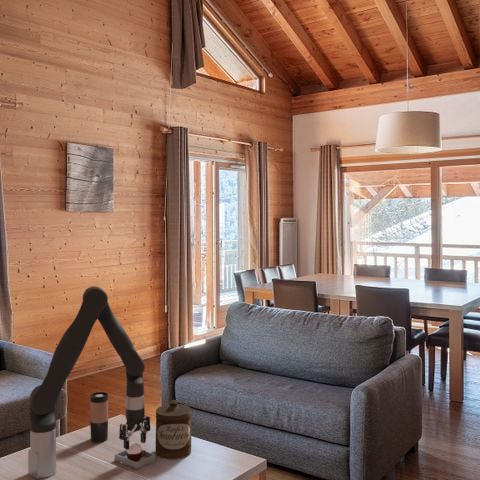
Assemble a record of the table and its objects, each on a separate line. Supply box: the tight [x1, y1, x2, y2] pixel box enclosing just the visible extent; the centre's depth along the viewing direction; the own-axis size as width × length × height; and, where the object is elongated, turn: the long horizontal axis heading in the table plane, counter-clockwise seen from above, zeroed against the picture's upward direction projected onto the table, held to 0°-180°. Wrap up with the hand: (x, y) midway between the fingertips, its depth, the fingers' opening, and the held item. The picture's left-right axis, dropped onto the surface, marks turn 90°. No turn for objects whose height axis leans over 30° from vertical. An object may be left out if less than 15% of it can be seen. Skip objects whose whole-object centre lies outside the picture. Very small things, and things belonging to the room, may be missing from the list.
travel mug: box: [89, 391, 109, 443], centre depth 251 cm, size 8×8×20 cm
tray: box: [114, 449, 156, 470], centre depth 230 cm, size 10×13×2 cm
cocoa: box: [122, 434, 147, 462], centre depth 229 cm, size 10×6×12 cm, turn 83°
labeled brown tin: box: [155, 399, 192, 460], centre depth 238 cm, size 15×15×22 cm
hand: (135, 445), depth 230 cm, fingers open, 8 cm apart
